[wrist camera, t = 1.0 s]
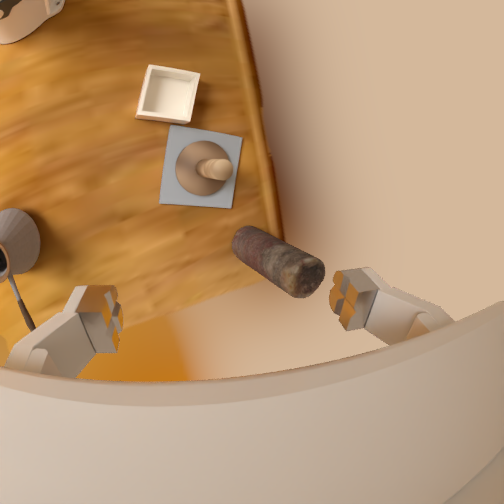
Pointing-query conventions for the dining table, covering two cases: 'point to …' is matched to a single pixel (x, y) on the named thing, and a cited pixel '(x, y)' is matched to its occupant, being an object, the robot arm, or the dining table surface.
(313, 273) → the candle
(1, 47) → the dining table surface
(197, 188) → the lid
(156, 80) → the dish
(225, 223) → the dining table surface
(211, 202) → the mat
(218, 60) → the dining table surface
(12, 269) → the coffee pot
